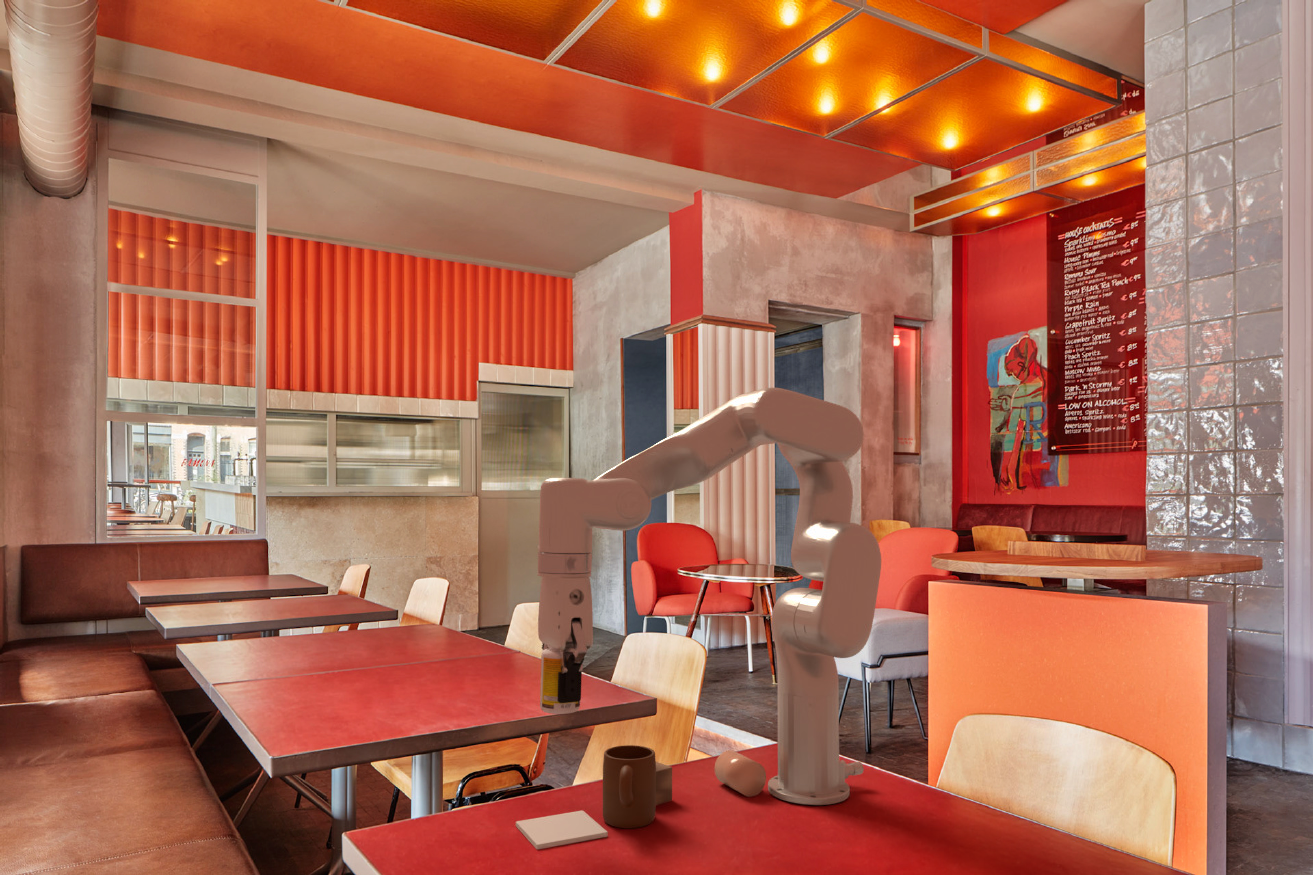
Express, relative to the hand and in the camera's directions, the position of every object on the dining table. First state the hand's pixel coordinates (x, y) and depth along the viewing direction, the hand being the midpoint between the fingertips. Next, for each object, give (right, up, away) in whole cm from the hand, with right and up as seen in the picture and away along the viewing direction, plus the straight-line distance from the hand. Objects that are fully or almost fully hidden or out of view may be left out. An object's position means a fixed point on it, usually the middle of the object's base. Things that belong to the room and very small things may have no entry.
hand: (560, 695), depth 117 cm
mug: (+9, -19, +1) cm, 21 cm away
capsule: (+24, -16, +16) cm, 33 cm away
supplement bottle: (0, -2, 0) cm, 2 cm away
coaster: (0, -18, -1) cm, 18 cm away
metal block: (+12, -19, +11) cm, 26 cm away
